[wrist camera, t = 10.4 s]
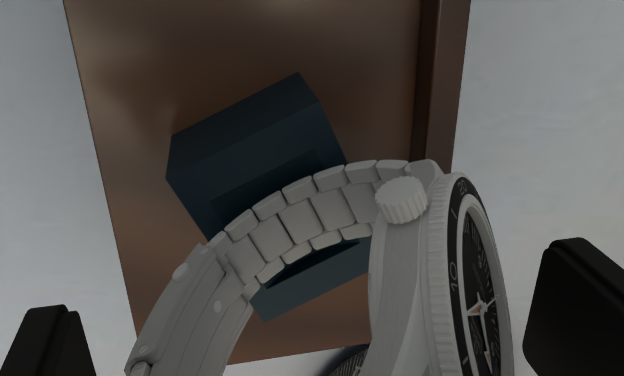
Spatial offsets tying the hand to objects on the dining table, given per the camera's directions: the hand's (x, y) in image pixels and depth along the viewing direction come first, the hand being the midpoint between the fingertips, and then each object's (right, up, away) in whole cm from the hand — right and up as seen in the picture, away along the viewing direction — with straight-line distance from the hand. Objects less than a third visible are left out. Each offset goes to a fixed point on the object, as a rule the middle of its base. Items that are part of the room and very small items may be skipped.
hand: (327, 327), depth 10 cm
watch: (-1, +3, +7) cm, 8 cm away
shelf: (-3, +7, +14) cm, 16 cm away
